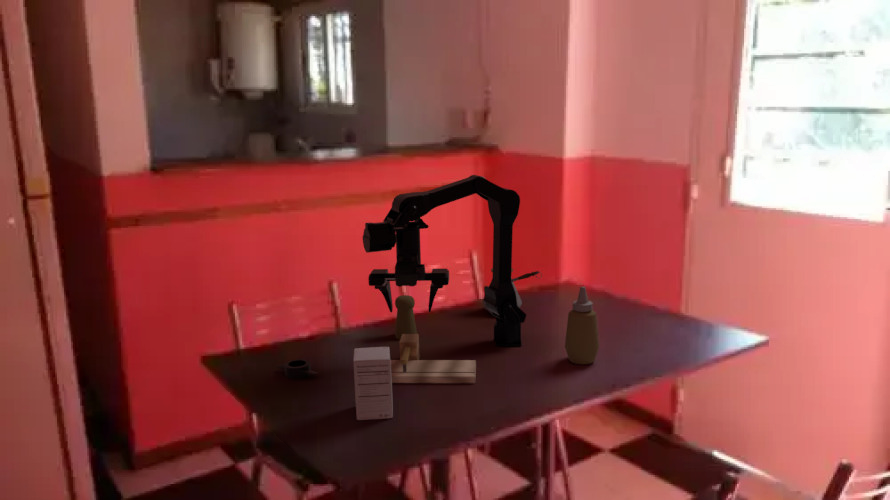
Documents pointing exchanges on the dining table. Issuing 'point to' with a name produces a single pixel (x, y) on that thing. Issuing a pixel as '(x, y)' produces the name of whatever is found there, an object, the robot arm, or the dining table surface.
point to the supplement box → (373, 383)
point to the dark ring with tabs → (297, 369)
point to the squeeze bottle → (582, 331)
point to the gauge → (409, 348)
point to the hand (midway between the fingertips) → (410, 311)
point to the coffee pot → (515, 287)
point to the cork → (405, 316)
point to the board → (434, 371)
